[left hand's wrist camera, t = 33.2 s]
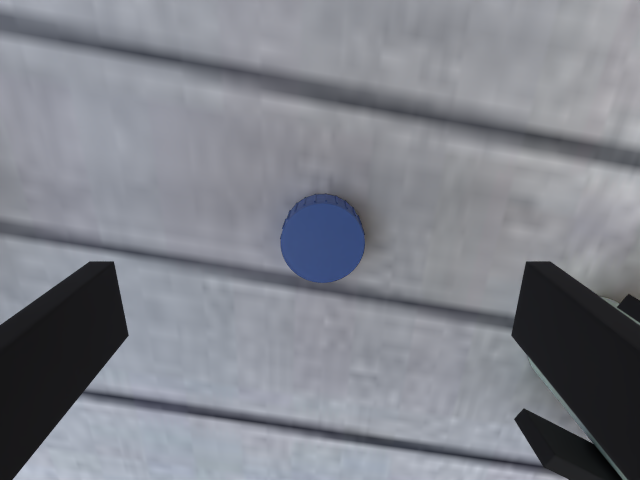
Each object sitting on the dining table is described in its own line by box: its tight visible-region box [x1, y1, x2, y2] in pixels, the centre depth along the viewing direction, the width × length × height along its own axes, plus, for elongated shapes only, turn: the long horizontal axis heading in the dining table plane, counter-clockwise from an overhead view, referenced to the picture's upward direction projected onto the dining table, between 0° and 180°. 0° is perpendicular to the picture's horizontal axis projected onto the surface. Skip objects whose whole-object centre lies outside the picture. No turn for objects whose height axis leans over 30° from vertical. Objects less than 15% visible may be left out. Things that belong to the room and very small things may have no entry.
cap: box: [280, 194, 365, 283], centre depth 21 cm, size 4×4×2 cm
